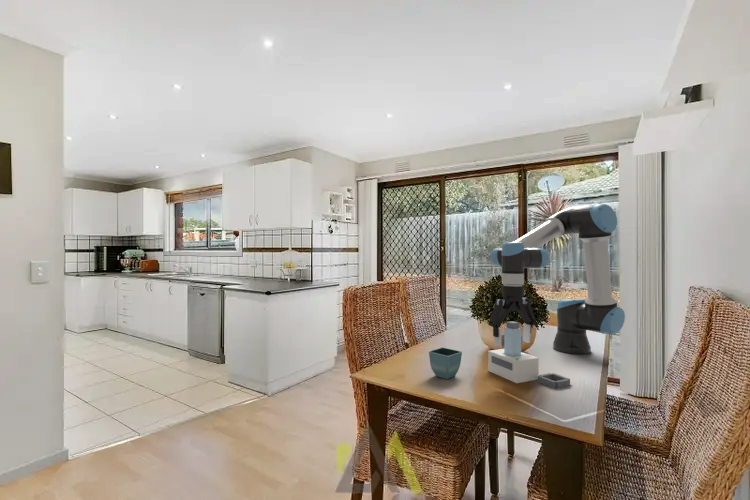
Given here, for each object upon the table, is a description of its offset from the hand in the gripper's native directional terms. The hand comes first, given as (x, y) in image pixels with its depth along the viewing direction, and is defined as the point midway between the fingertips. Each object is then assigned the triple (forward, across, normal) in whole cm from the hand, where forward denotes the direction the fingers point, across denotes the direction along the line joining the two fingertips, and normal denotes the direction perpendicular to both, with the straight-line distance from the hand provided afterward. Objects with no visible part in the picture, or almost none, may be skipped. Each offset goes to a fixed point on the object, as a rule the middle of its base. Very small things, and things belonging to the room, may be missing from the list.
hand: (512, 344), depth 132 cm
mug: (+12, -11, -13) cm, 21 cm away
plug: (+7, 0, 0) cm, 7 cm away
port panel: (+12, 0, 0) cm, 12 cm away
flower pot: (+12, +22, -10) cm, 27 cm away
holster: (+12, -6, +12) cm, 18 cm away
